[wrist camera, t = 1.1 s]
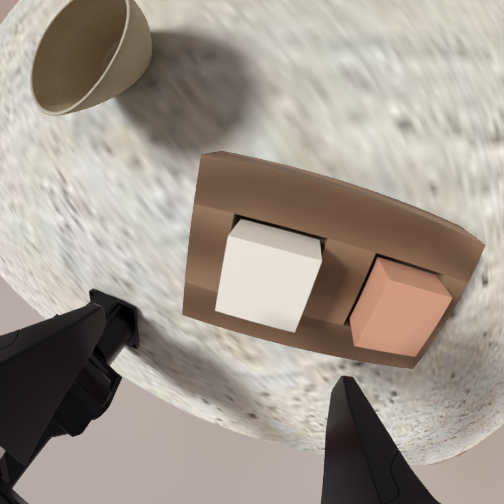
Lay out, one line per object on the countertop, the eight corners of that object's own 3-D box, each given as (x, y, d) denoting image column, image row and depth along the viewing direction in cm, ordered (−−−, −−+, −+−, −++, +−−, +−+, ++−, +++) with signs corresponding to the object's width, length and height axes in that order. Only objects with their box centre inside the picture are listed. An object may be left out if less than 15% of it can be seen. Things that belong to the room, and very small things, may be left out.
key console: (403, 339, 22) (413, 368, 19) (199, 288, 24) (182, 314, 20) (460, 226, 17) (485, 244, 13) (221, 150, 19) (201, 154, 15)
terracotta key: (405, 330, 18) (415, 356, 15) (349, 317, 18) (354, 346, 15) (435, 275, 16) (452, 298, 13) (377, 256, 16) (389, 279, 13)
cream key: (297, 304, 18) (294, 332, 16) (227, 285, 19) (215, 310, 16) (319, 240, 16) (322, 261, 14) (240, 219, 17) (228, 235, 14)
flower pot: (196, 75, 16) (145, 53, 10) (102, 134, 20) (41, 143, 13) (162, -6, 13) (115, -38, 7) (79, 54, 16) (25, 47, 10)
